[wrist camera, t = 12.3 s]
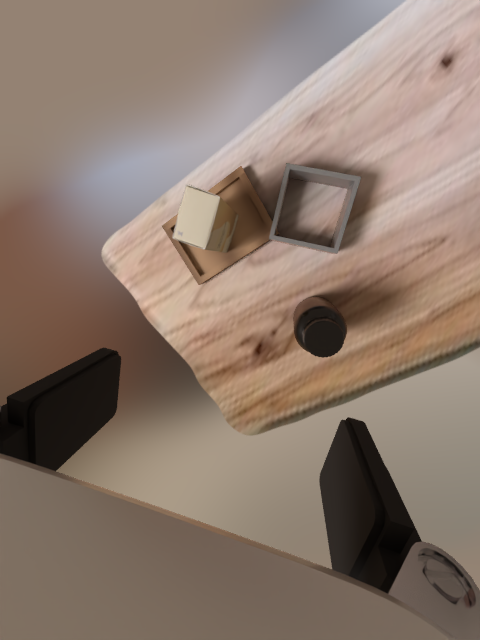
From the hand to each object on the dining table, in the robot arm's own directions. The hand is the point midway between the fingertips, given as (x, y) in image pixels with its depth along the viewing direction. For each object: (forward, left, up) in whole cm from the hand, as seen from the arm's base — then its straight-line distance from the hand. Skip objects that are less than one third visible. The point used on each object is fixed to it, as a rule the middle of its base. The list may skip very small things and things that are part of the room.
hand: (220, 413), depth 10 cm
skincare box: (+10, -8, -33) cm, 35 cm away
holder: (-3, -13, -33) cm, 36 cm away
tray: (+10, -8, -33) cm, 36 cm away
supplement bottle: (-8, +2, -34) cm, 34 cm away
